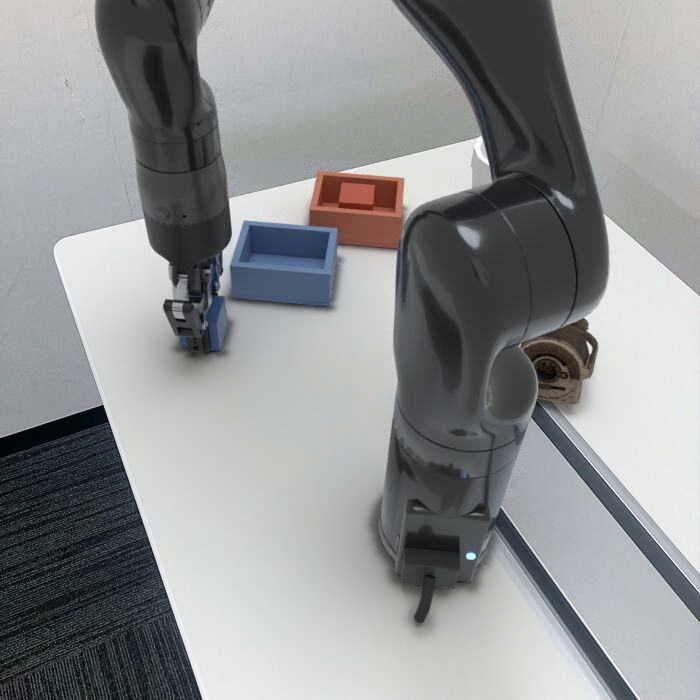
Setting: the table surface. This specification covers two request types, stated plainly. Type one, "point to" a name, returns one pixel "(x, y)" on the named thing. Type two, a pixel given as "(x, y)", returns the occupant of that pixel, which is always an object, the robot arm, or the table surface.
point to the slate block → (214, 323)
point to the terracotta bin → (359, 224)
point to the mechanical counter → (562, 361)
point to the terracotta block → (357, 196)
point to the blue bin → (284, 263)
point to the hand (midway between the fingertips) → (205, 333)
